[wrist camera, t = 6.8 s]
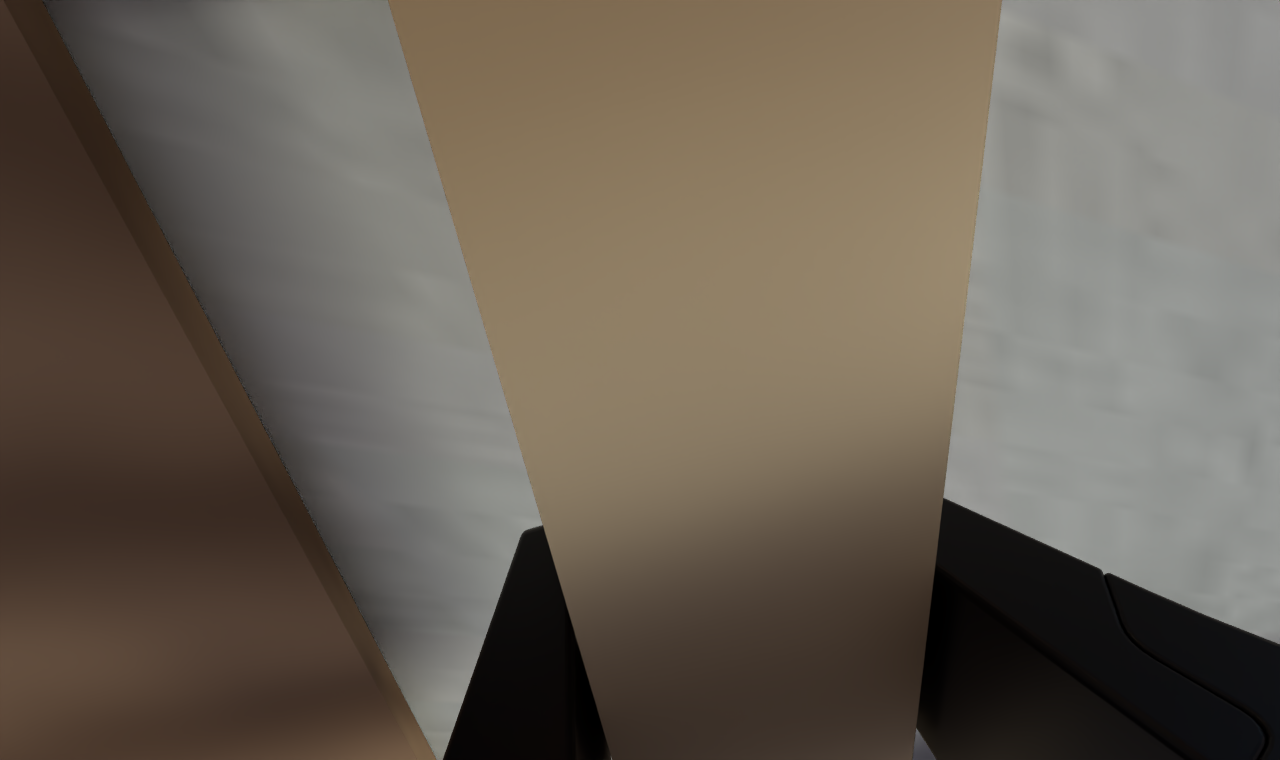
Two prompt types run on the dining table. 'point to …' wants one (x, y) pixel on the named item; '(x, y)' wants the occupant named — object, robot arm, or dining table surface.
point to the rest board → (146, 484)
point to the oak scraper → (724, 336)
